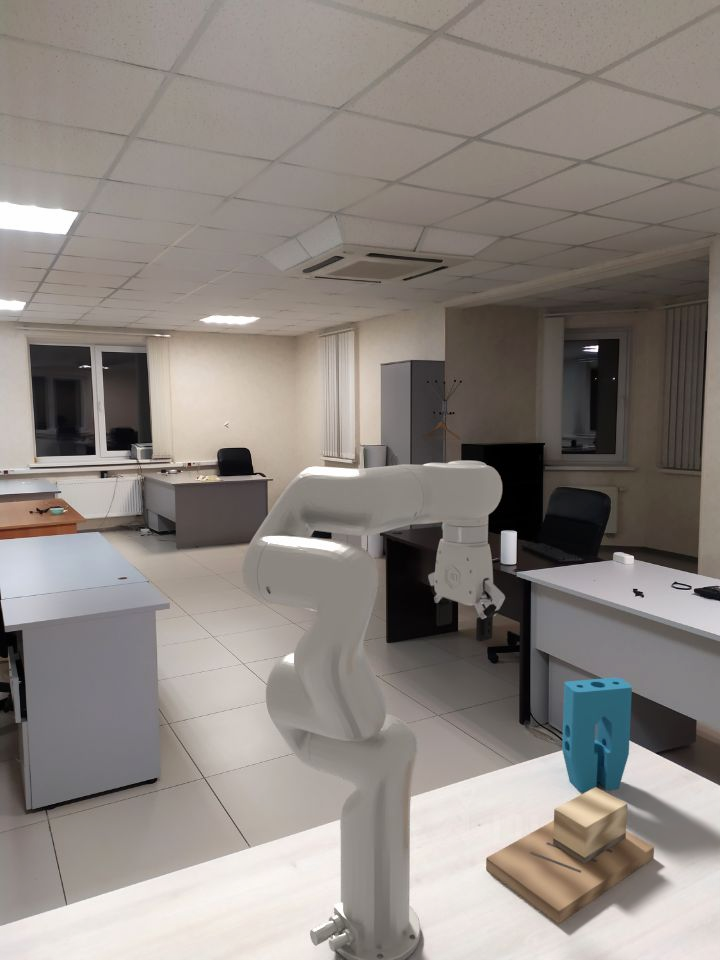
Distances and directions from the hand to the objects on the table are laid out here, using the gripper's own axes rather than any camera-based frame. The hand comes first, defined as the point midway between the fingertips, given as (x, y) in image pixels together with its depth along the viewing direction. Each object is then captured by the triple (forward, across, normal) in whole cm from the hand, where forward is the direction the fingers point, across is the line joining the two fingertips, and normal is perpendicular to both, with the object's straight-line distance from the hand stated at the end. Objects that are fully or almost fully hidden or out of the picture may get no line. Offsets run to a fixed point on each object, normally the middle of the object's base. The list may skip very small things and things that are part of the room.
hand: (463, 631), depth 117 cm
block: (+34, +7, +29) cm, 46 cm away
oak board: (+34, +19, +6) cm, 40 cm away
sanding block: (+32, +19, +11) cm, 39 cm away
